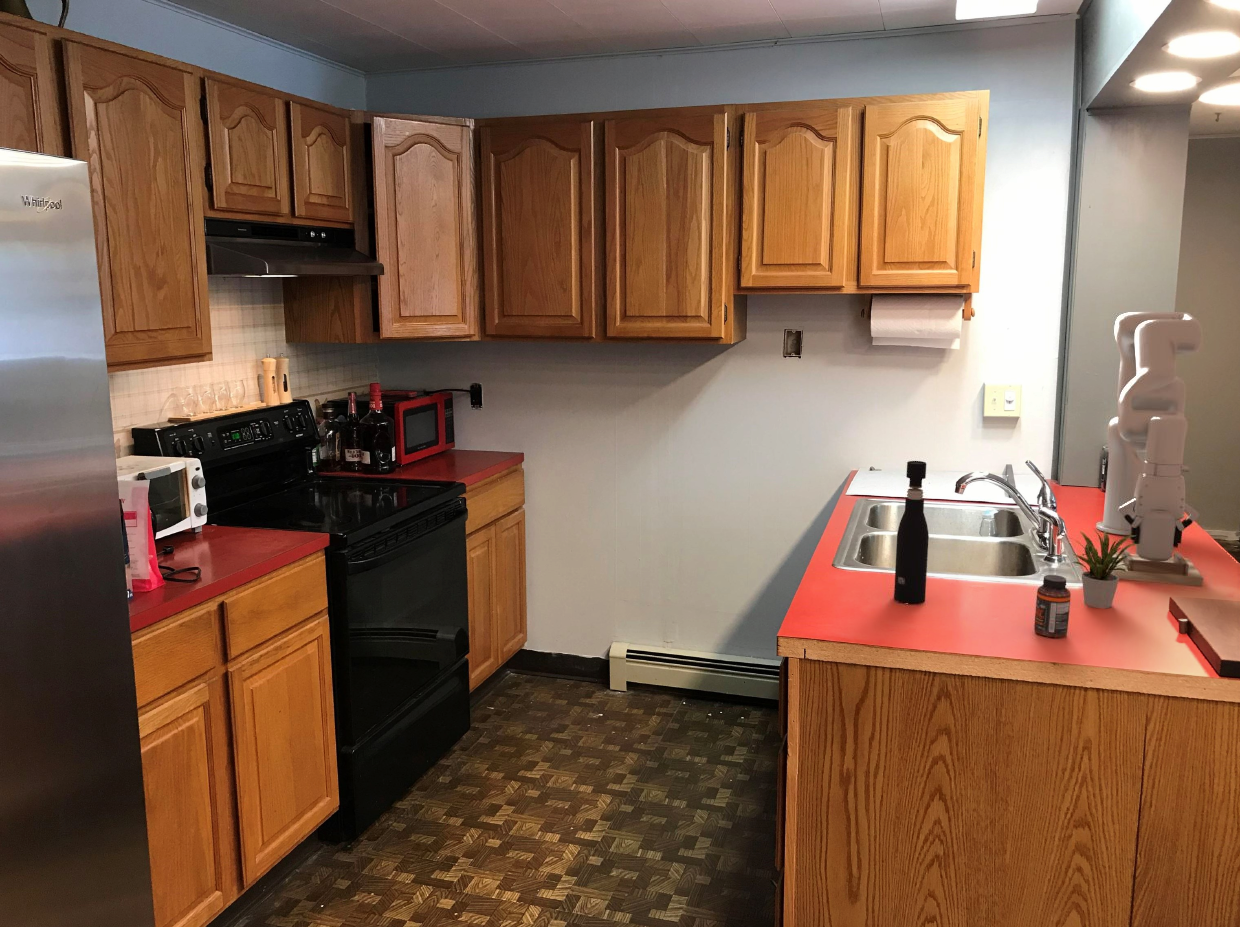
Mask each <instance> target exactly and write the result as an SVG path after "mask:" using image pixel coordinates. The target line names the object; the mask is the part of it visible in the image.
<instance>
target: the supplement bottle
mask: <svg viewBox="0 0 1240 927" xmlns="http://www.w3.org/2000/svg"><path fill="white" fill-rule="evenodd" d="M1042 583H1043V584H1041V585H1040V586H1039V587H1038V588H1037V592H1036V601H1035V602H1036V603H1035V612H1034V613H1035V614H1034V624H1033V626H1034V627H1033V628H1034V632H1035V633H1036V632H1037V634H1038V635H1040V636H1042V635H1043V636H1042V637H1045V636H1047V637H1046V638H1052V637H1054V638H1053V639H1058V638H1057V637H1061V638H1064V637H1066V636H1067V634H1068V630H1069V619H1070V617H1069V616H1070V606H1071V591H1070V590H1069V589H1068V588H1067V587H1066V586H1067V578H1066V577H1064V576H1062V575H1058V574H1046V575H1044V576H1043V581H1042Z"/></svg>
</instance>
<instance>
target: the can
mask: <svg viewBox="0 0 1240 927" xmlns="http://www.w3.org/2000/svg"><path fill="white" fill-rule="evenodd" d="M1170 512H1171V511H1155V510H1150V513H1148V514H1146V515H1144V517H1143V518H1142V521H1141V522H1140V523H1139V525H1138V527H1139V529H1140V530H1139V540H1138V544H1142V545H1135V546H1136V547H1135V553H1136V554H1137V555H1139V557H1140V558H1142V559H1145V560H1150V561H1167V560H1168V559H1170V558H1172V557H1173V556H1174V546H1173V545H1174V536H1175V527H1176V520H1175V517H1173V516H1172V515H1171V514H1170Z"/></svg>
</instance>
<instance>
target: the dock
mask: <svg viewBox="0 0 1240 927" xmlns="http://www.w3.org/2000/svg"><path fill="white" fill-rule="evenodd" d="M1123 548H1124V547H1121V550H1122V549H1123ZM1108 553H1109V551H1108ZM1118 554H1119V552H1116V554H1114V555H1113V557H1116V556H1117V555H1118ZM1127 555H1132V556H1128V557H1126V558H1125V559H1123V560H1122V561H1123V562H1122V561H1121V562H1120V563H1119V564H1118V565H1120V566H1118V565H1117V567H1116V568H1122V569H1125V570H1126V572H1125V571H1121V570H1113V571H1112V572H1111V574H1114V575H1116V576H1118V577H1119V580H1125V581H1127V580H1128V581H1136V582H1137V581H1138V582H1150V583H1159V584H1170V585H1172V584H1173V585H1183V586H1192V587H1193V586H1194V587H1203V583H1204V577H1203V575H1202V574H1201V573H1200V571H1199V570H1198V569H1197V568H1196V566H1195V565H1194V564H1193V563H1192V561H1191V560H1190V558H1184V557H1183V556H1182V554H1181V553H1180V552H1178V551H1173V556H1172V558H1170V559H1168V560H1167V561H1150V560H1145V559H1142V558H1140V557H1139V555H1138V554H1137V553H1136V554H1134V553H1130V551H1129V550H1128V548H1127V549H1126V550H1125V551H1124V552H1123V553H1122V554H1121V555H1120V556H1119V558H1122V557H1124V556H1127ZM1117 560H1119V559H1117ZM1121 564H1129V565H1130V568H1131V569H1130V568H1129V567H1128V566H1124V565H1121ZM1110 566H1111V565H1110ZM1110 566H1109V567H1110ZM1108 569H1109V568H1108ZM1114 569H1115V568H1114Z"/></svg>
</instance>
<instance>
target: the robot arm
mask: <svg viewBox="0 0 1240 927" xmlns="http://www.w3.org/2000/svg"><path fill="white" fill-rule="evenodd" d="M1203 334H1204V333H1203V328H1202V325H1201V323H1200V321H1198V319H1197V318H1196V317H1194V315H1192V314H1191V313H1189V312H1184V311H1183V312H1181V311H1178V312H1176V311H1133V312H1132V311H1131V312H1126V313H1125V312H1124V313H1123V314H1120V315H1119V316H1118V317H1117V318H1116V320H1115V324H1114V337H1115V342H1116V345H1117V348H1118V351H1119V355H1120V356H1119V357H1120V358H1119V359H1120V363H1119V370H1118V382H1117V383H1118V384H1117V392H1116V393H1117V396H1116V397H1117V398H1116V401H1117V416H1115V417H1113V418H1111V419H1110V421H1109V423H1108V426H1107V434H1106V435H1107V442H1108V444H1107V445H1108V461H1107V462H1108V463H1107V472H1106V473H1107V475H1106V485H1105V496H1104V505H1103V506H1104V508H1103V516H1102V517H1103V519H1102V520H1101V521H1098V522H1096V523H1095V524H1096V526H1095V528H1096V529H1097V530H1098V531H1100V532H1104V531H1105V532H1106V533H1107V534H1114V535H1120V536H1131V535H1136V536H1133V537H1130V538H1129V540H1132V544H1138V540H1139V530H1140V529H1139V527H1138V525H1139V523H1140V522H1141V521H1142V518H1143V517H1144V515H1146V514H1148V513H1150V510H1155V511H1171V512H1170V514H1171V515H1172V516H1173V517H1175V520H1176V527H1175V536H1174V545H1173V548H1174V549H1175V548H1176V549H1178V547H1179V544H1182V540H1183V539H1182V537H1183V531H1184V530H1185V529H1186V528H1187V527H1189V526H1191V525H1192V524H1193V522H1195V521H1196V520H1197V519H1198V518H1199V517H1200V513H1199V512H1198V511H1197V510H1195V509H1194V508H1193V507H1192V506H1190V505H1189V504H1187V503H1186V483H1185V477H1184V475H1183V473H1189V471H1190V466H1189V465H1185V464H1183V460H1184V451H1185V450H1184V449H1185V442H1186V436H1187V433H1188V428H1189V427H1188V425H1189V423H1188V419H1187V418H1186V417H1185V410H1186V409H1185V408H1186V401H1187V400H1186V399H1187V388H1186V384H1185V382H1184V380H1183V379H1182V378H1181V377H1178V376H1177V375H1178V371H1177V359H1176V356H1177V355H1195V354H1197V353H1198V352H1199V351H1200V350H1201V348H1202V346H1203V342H1204V341H1203V339H1204V335H1203ZM1139 452H1145V454H1144V460H1143V458H1142V457H1141V456H1140V455H1139ZM1185 511H1186V512H1187V513H1188V514H1189V516H1187V517H1186V518H1185V519H1184V517H1185V513H1186V512H1185ZM1182 519H1183V520H1182ZM1181 520H1182V521H1181Z"/></svg>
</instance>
